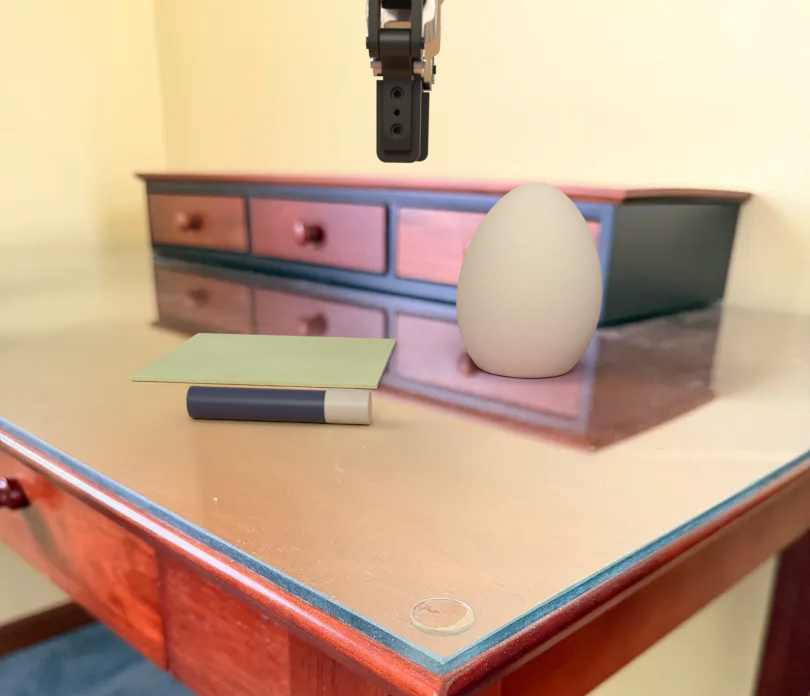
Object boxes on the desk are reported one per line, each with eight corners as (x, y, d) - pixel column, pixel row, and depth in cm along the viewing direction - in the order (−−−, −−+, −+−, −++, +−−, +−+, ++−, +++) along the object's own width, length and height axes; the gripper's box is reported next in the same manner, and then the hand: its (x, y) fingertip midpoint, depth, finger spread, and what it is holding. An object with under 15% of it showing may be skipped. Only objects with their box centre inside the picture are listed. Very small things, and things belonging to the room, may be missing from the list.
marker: (189, 424, 57) (183, 394, 55) (198, 407, 58) (192, 378, 57) (368, 430, 56) (367, 401, 54) (372, 413, 58) (371, 384, 56)
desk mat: (131, 380, 66) (130, 376, 66) (198, 336, 82) (198, 332, 82) (377, 389, 65) (377, 384, 65) (396, 342, 81) (396, 338, 81)
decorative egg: (583, 354, 78) (602, 181, 71) (603, 387, 66) (627, 186, 60) (454, 351, 78) (461, 179, 72) (453, 382, 67) (461, 183, 61)
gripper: (351, -159, 46) (354, 160, 53) (304, -283, 33) (316, 161, 40) (486, -160, 45) (471, 162, 52) (491, -286, 32) (471, 164, 39)
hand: (404, 162), depth 46 cm, fingers open, 8 cm apart
